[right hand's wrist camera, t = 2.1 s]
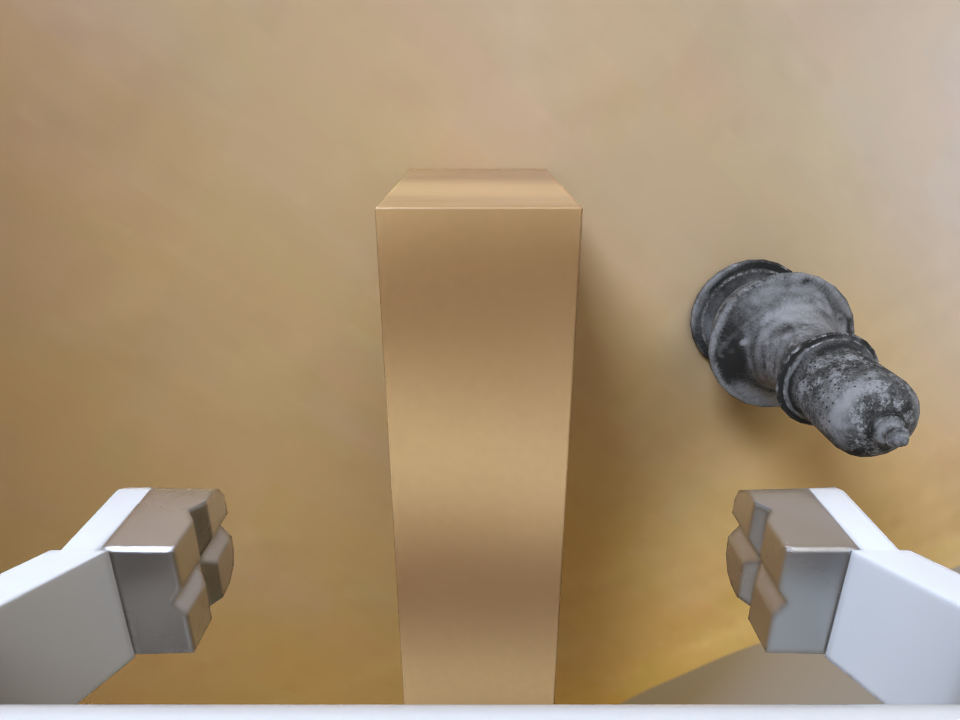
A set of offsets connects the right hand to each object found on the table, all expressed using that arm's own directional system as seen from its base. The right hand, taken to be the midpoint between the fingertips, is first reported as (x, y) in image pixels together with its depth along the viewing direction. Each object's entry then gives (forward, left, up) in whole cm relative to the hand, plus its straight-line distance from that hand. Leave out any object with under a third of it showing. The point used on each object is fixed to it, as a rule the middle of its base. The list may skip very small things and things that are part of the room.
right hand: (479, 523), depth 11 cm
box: (+10, 0, -20) cm, 22 cm away
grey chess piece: (+3, +12, -20) cm, 24 cm away
